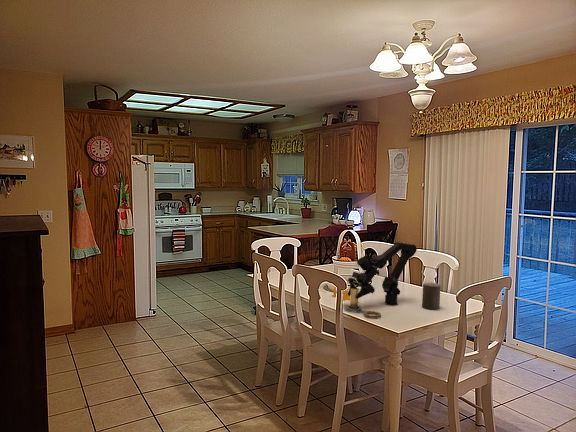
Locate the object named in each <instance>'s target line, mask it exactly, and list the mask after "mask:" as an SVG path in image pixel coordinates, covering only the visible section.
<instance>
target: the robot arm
mask: <svg viewBox="0 0 576 432" xmlns="http://www.w3.org/2000/svg"><path fill="white" fill-rule="evenodd" d="M417 250H418V249H417V246H416V245H415V244H413V243H407V242H406V243H403V242H401V241H399V242H398V241H396V242H394V244H393V245H391V247H389V248H387V249H386V250H385V251H384V252H383V253H381V254H379V255H378V254H377V255H376V256H374V257H372V258H371V259H370V258H369V257H368V256H367V255H363V256H362V257H359V258H358V259H357V261H356V264H357V265H358V267H360V269H361V270H362V271H364V272H360V273H359V272H356V271H353V272H352V274H351V277H349V278H348V279H347V282H348V283H349V289H348V296H350V295H351V288H358V287H360V290H359V291H358V295H357V296H356V299H358V300H359V299H361V298H362V297H364V296H367V295H369V294H372V295H373V294H374V293H375V291H376V290H375V287H374V286H373V285H372V284H371V283H372V282H373V279H374V277H375V276H376V275H378V276H379V275H380V270H379V269H381V270H382V269H383V268H384V267H385V266H386V265H387V263H388V261H389V260H391V258H393V257H394V256H395V255H396V254H398V253H399V252H400V256H399V259H398V260H397V262H396V264H395V266H394V268H393V270H392V272H391V273H390V275H389V276H385V277H384V279H383V280H382V290H383V292H384V293H385V296H384V297H385V298H384V303H385V305H389V306H398V304H399V303H398V296H400V294H401V290H400V289H399V288H398V286H399V278H400V276H402V275H401V274H402V273H403V271H404V269H405V267H406V266H407V263H408V262H409V260H410V259H411V258H412V257H414V256H415V254H416V253H417Z"/></svg>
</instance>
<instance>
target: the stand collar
mask: <svg viewBox="0 0 576 432" xmlns="http://www.w3.org/2000/svg"><path fill="white" fill-rule="evenodd" d="M363 315H364V318H367V319H371V320H372V319H373V320H375V319H381V318H382V313H381V312H379V311H375V310H367V311H364V313H363Z"/></svg>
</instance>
